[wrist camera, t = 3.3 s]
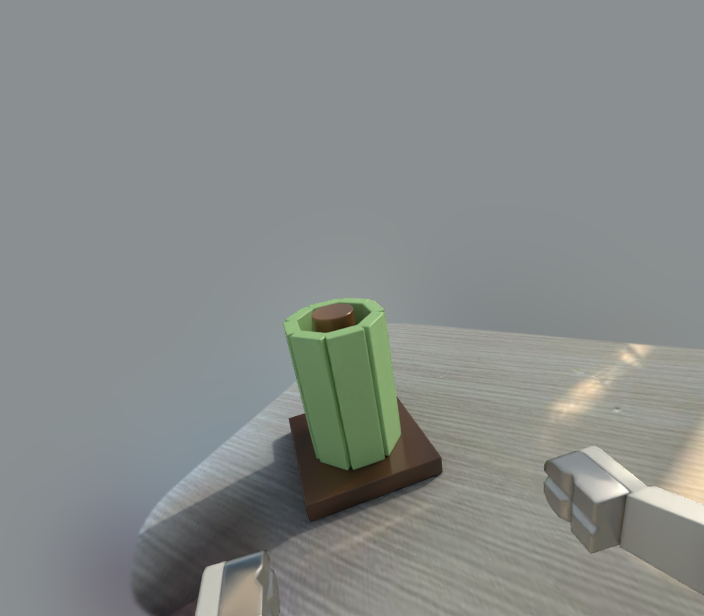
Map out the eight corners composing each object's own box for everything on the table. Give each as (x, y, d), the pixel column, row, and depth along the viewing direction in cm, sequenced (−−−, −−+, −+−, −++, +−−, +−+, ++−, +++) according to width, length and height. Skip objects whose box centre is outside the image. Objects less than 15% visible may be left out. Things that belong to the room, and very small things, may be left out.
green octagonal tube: (322, 481, 20) (290, 348, 17) (307, 422, 26) (279, 312, 22) (413, 449, 22) (397, 320, 19) (381, 399, 27) (364, 291, 24)
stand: (309, 522, 19) (265, 361, 16) (291, 431, 27) (258, 306, 23) (443, 473, 21) (429, 316, 18) (392, 399, 28) (374, 278, 25)
